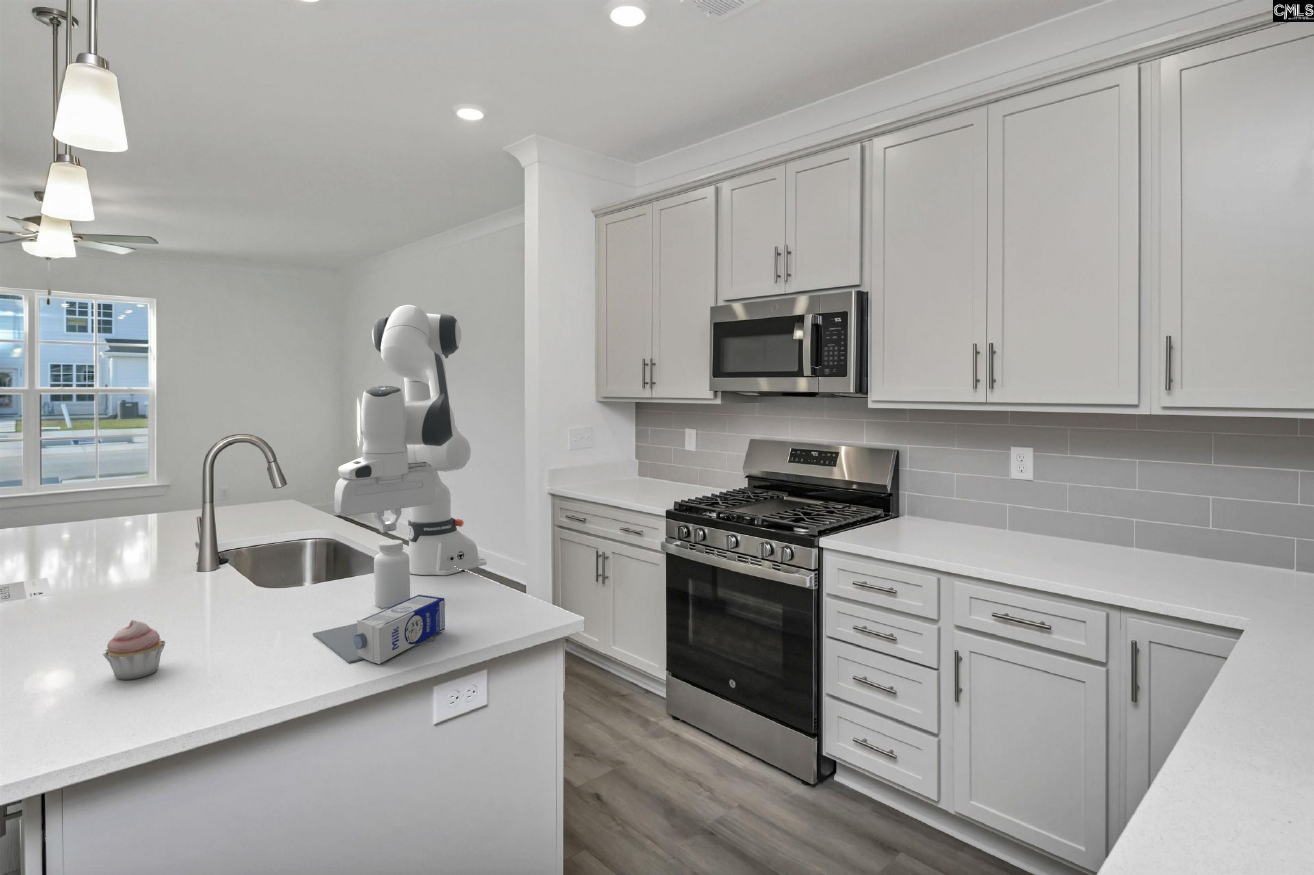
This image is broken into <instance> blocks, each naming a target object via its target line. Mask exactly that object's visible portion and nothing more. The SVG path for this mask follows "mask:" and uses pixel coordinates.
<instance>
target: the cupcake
mask: <svg viewBox="0 0 1314 875" xmlns="http://www.w3.org/2000/svg"><path fill="white" fill-rule="evenodd" d="M161 639H162V638H160V633H159V632H158V631H157V630H155V629H154V628H151V627H150V626H149V625H148V624H147V623H145V622H142V621H139V620H134V619H131V620H130V622H129V624H128V626H125V627H123V628H121V629H119V630H118V631H117V632H116V633H115V634H114V635H113V637H112V638H111V639H110V640H109V641H108V642H107V646H106V648H107V649H104V651H105V652H104V653H103V654H102V656H103V657H104V658H105V660H107V662H108V663H109V665H110V667H111V670H112V672H113V675H114V677H115V678H116V679H117V680H124V681H125V680H135V679H140V678H144V677H147V676H150V675H153V674H155V672H156V671H157V670H158V669H159V667H160V662H161V656H162V653H163V650H164V649H165V645H166V643H167V641H166V640H161Z"/></svg>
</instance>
